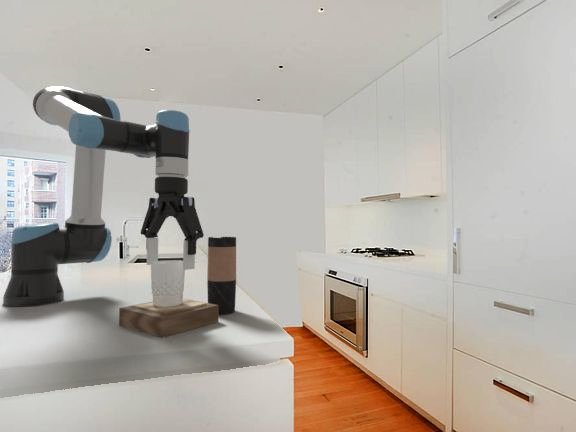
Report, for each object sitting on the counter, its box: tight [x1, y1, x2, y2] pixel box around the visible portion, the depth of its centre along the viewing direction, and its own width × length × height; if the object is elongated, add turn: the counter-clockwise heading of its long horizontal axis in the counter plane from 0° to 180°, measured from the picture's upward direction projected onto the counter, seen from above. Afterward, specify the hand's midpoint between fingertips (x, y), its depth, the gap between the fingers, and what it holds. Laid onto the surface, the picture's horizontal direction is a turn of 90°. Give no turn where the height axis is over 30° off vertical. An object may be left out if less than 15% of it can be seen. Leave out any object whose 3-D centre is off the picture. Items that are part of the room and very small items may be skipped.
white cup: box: [150, 260, 186, 307], centre depth 91 cm, size 8×8×10 cm
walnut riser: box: [118, 298, 220, 338], centre depth 91 cm, size 16×16×4 cm
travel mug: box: [206, 236, 237, 316], centre depth 104 cm, size 8×8×20 cm
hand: (169, 266), depth 91 cm, fingers open, 13 cm apart
